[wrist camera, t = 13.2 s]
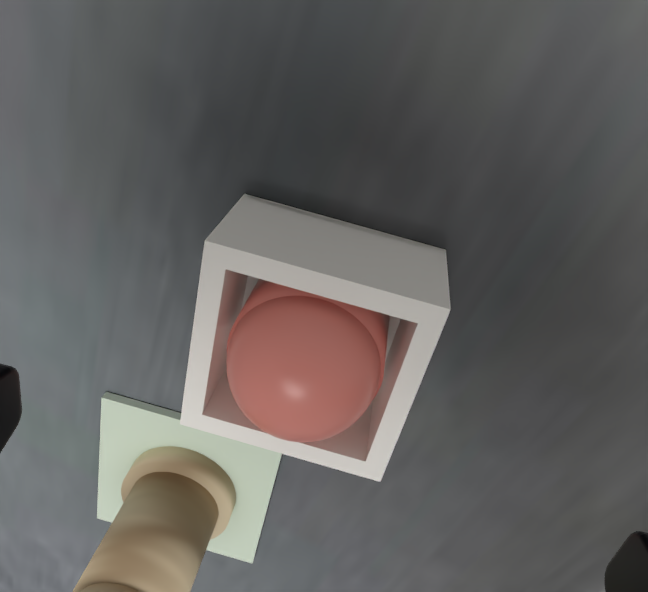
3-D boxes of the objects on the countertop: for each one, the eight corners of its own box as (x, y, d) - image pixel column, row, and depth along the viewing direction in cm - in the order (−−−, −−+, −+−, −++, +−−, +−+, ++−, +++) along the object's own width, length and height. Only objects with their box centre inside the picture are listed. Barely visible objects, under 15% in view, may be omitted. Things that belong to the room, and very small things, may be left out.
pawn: (244, 465, 25) (161, 687, 17) (227, 536, 27) (149, 758, 19) (134, 433, 25) (2, 639, 17) (128, 507, 27) (10, 716, 20)
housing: (446, 249, 19) (450, 309, 16) (386, 404, 22) (380, 481, 19) (244, 193, 19) (204, 240, 16) (217, 356, 23) (179, 424, 19)
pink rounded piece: (407, 273, 19) (402, 368, 14) (368, 386, 22) (352, 498, 17) (264, 233, 19) (212, 314, 14) (241, 350, 22) (191, 451, 17)
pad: (285, 442, 24) (282, 449, 24) (254, 556, 28) (252, 563, 28) (106, 391, 24) (101, 397, 24) (101, 511, 28) (96, 518, 28)
